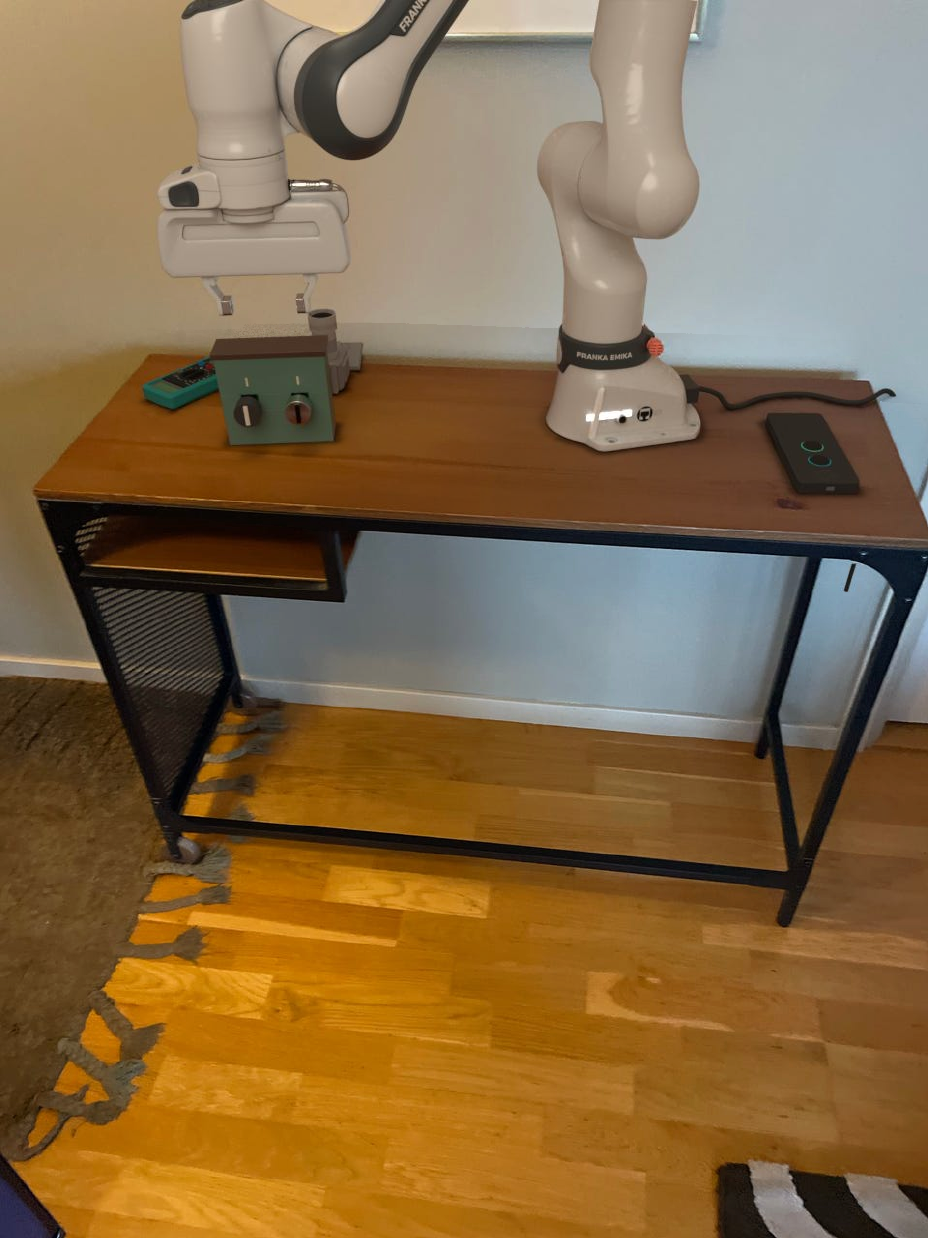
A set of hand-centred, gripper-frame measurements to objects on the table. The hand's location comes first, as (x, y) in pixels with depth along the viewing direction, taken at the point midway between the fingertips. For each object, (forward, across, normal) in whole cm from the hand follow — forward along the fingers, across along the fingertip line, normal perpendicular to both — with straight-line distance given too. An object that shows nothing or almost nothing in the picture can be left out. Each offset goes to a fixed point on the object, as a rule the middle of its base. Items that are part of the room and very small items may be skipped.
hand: (265, 312), depth 103 cm
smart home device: (+25, -71, -7) cm, 75 cm away
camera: (+26, -3, -40) cm, 47 cm away
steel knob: (+21, 0, -16) cm, 26 cm away
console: (+25, +3, -19) cm, 32 cm away
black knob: (+21, +7, -16) cm, 27 cm away
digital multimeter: (+26, +19, -36) cm, 48 cm away
